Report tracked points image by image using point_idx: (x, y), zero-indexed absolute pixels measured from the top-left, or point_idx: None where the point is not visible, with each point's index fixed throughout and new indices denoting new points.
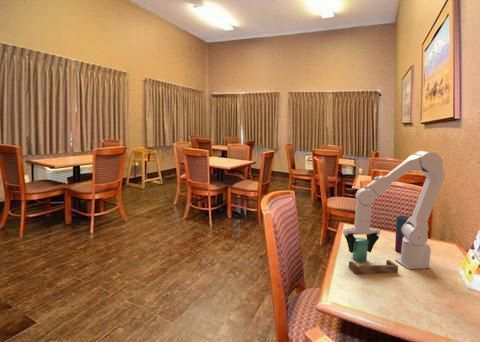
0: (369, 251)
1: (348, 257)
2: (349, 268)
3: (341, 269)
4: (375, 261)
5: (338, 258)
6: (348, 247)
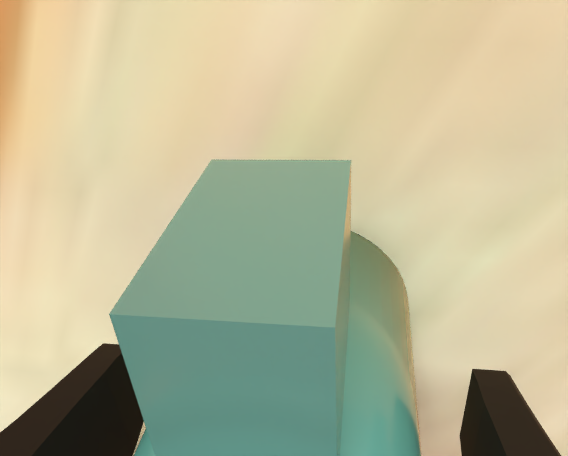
0: (463, 451)
1: None
2: None
3: None
4: None
5: (14, 251)
6: (56, 388)
